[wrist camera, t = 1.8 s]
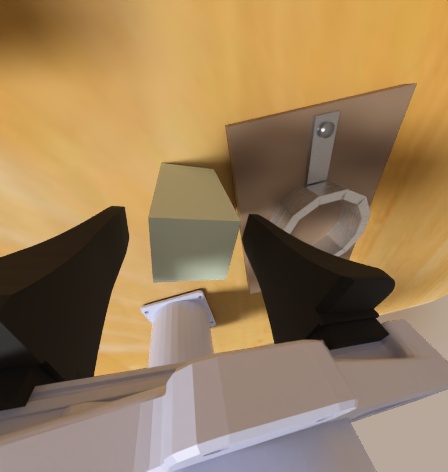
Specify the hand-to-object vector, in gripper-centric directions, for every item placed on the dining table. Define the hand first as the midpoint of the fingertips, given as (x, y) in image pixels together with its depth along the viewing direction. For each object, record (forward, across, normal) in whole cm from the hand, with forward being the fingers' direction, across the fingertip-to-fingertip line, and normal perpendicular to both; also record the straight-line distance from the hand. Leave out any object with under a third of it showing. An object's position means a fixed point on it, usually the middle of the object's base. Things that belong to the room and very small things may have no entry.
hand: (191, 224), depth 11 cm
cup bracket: (+5, -12, +2) cm, 14 cm away
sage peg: (+5, 0, 0) cm, 5 cm away
